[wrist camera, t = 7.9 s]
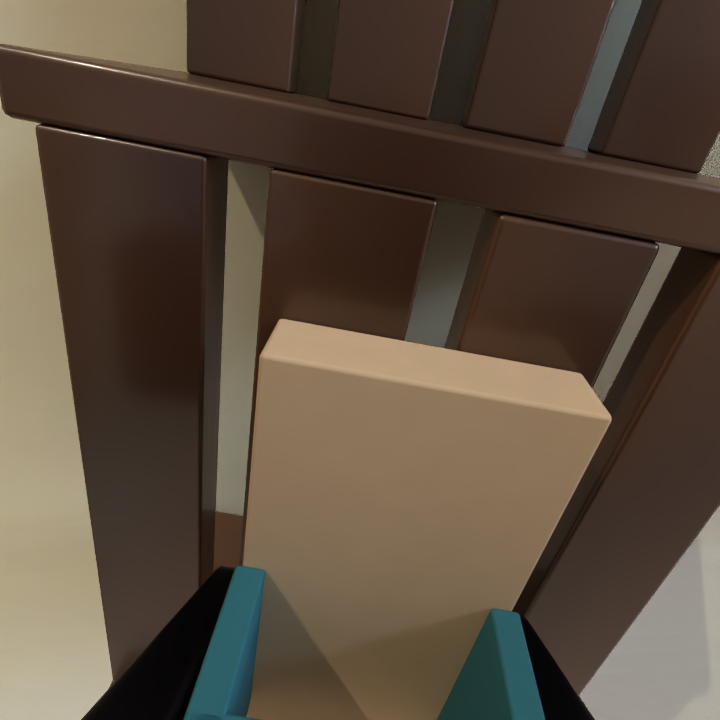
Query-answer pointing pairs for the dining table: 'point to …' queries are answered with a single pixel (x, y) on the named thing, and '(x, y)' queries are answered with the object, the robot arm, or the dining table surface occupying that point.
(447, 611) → the wall mail holder
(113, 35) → the dining table surface
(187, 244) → the shoe rack
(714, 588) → the dining table surface
